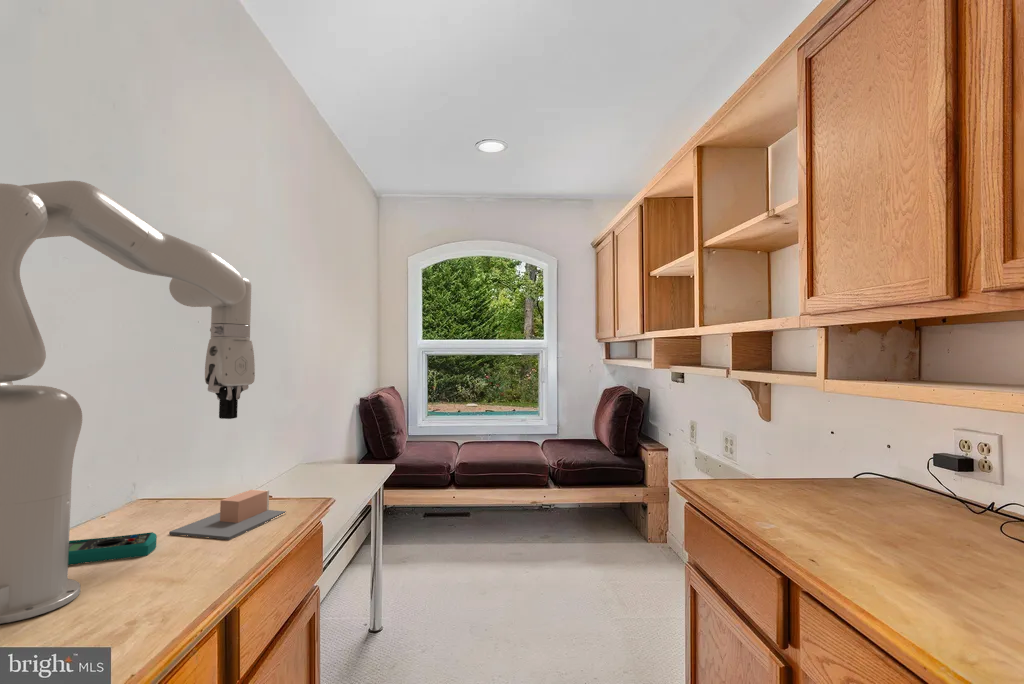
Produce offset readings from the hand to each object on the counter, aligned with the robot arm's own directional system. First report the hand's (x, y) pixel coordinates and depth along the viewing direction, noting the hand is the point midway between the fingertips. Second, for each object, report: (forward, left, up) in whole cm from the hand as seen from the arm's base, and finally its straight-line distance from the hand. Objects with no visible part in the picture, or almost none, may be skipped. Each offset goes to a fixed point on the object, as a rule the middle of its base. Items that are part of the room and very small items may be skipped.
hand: (228, 418), depth 112 cm
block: (+1, 0, -20) cm, 20 cm away
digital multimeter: (-19, +9, -24) cm, 32 cm away
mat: (+2, 0, -23) cm, 23 cm away
